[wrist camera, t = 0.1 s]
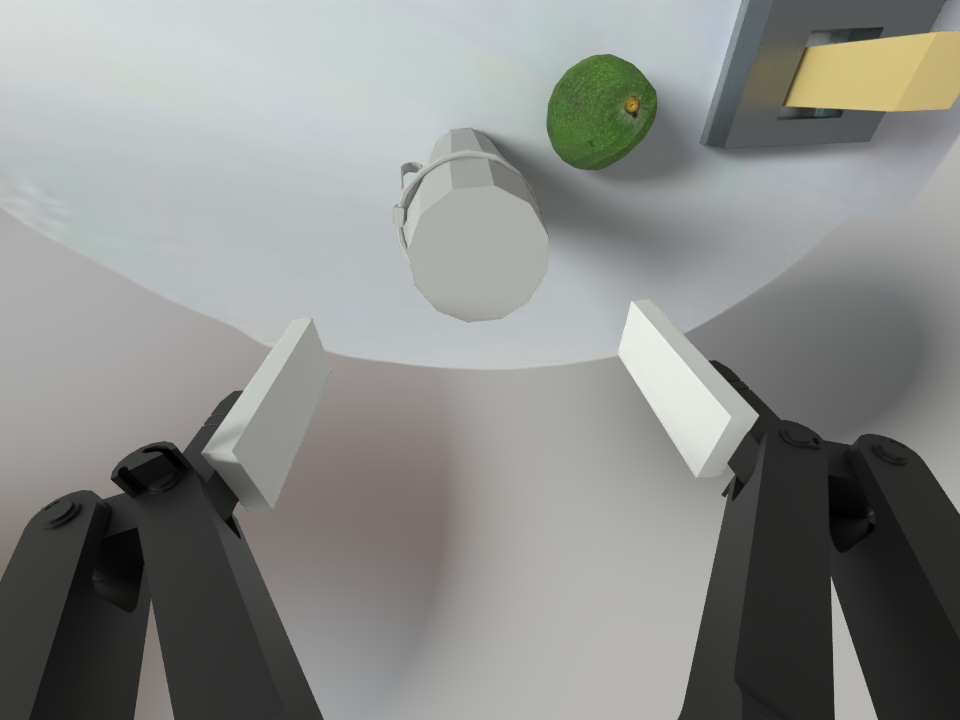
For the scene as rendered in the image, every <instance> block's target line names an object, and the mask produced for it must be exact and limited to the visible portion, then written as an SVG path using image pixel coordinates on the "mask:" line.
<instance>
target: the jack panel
mask: <svg viewBox="0 0 960 720" xmlns="http://www.w3.org/2000/svg"><path fill="white" fill-rule="evenodd" d="M945 1H946V0H742V3H741V6H740V10H739V13H738V17H737V20H736V23H735V27H734V30H733V34H732V37H731V40H730V44H729V47H728V50H727V54H726V57H725V61H724V64H723V67H722V71H721V74H720V78H719V81H718V84H717V88H716V91H715V95H714V98H713V101H712V105H711V108H710V112H709V115H708V118H707V122H706V125H705V129H704V132H703V135H702V139H701V142H700V143H701V144H706V145H711V146H715V147H720V148H744V147H764V146H785V145H805V144H826V143H846V142H867V141H870V139H871V138H872V136H873V134H874V132H875V130H876V128H877V126H878V125H879V123H880V121H881V119H882V117H883V115H884V114H885V112H886V111H873V110H853V109H833V108H813V107H794V106H782V105H783V102H784V99H785V97H786V94H787V92H788V89H789V87H790V84H791V82H792V79H793V77H794V74H795V71H796V69H797V66H798V64H799V61H800V59H801V56H802V54H803V51H804V49H805V47H814V46H822V45H831V44H839V43H848V42H856V41H865V40H873V39H882V38H890V37H899V36H907V35H916V34H924V33H928V32H929V30H930V29H931V27H932V25H933V23H934V21H935V19H936V17H937V16H938V14H939V12H940V10H941V8H942V6H943V5H944V3H945Z"/></svg>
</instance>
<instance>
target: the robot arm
mask: <svg viewBox="0 0 960 720" xmlns="http://www.w3.org/2000/svg"><path fill="white" fill-rule="evenodd" d="M618 355H619V356H620V358H621V360H622V361H623V363H624V364H625V366H626V367H627V369H628V370H629V372H630V374H631V375H632V377H633V378H634V380H635V382H636V383H637V385H638V386H639V388H640V390H641V391H642V393H643V394H644V396H645V398H646V399H647V401H648V402H649V404H650V405H651V407H652V409H653V410H654V412H655V413H656V415H657V417H658V418H659V419H660V421H661V423H662V424H663V426H664V428H665V429H666V431H667V432H668V434H669V435H670V437H671V438H672V440H673V442H674V443H675V445H676V447H677V448H678V450H679V451H680V453H681V455H682V456H683V458H684V459H685V461H686V463H687V464H688V466H689V467H690V469H691V470H692V472H693V474H694V475H695V477H696V478H704V477H718V476H721V474H722V472H723V471H724V469H725V468H726V466H727V465H729V466H730V468H731V469H732V470H733V472H734V473H735V476H734V477H733V478H732V480H731V482H730V483H729V484H728V486H727V487H726V489H725V490H724V492H723V493H722V496H724V497H726V495H727V494H728V497H727V502H726V507H725V511H724V516H723V521H722V526H721V530H720V535H719V540H718V545H717V549H716V554H715V559H714V563H713V568H712V573H711V577H710V582H709V587H708V591H707V596H706V601H705V606H704V611H703V615H702V620H701V624H700V629H699V634H698V639H697V643H696V648H695V653H694V657H693V662H692V667H691V672H690V676H689V681H688V686H687V690H686V695H685V700H684V704H683V708H682V711H681V713H680V716H679V718H678V720H835V714H834V678H833V642H832V607H831V577H832V580H833V583H834V586H835V589H836V592H837V596H838V599H839V602H840V605H841V608H842V611H843V614H844V617H845V620H846V623H847V626H848V629H849V632H850V635H851V638H852V641H853V644H854V648H855V650H856V654H857V657H858V660H859V663H860V666H861V669H862V672H863V675H864V678H865V681H866V684H867V687H868V690H869V693H870V696H871V699H872V702H873V706H874V709H875V712H876V715H877V718H878V720H960V514H959V513H958V512H957V510H956V508H955V507H954V505H953V504H952V502H951V501H950V499H949V498H948V496H947V495H946V493H945V492H944V490H943V489H942V487H941V486H940V484H939V483H938V481H937V480H936V478H935V477H934V475H933V474H932V473H931V471H930V470H929V468H928V466H926V464H925V462H924V461H923V460H922V459H921V457H920V456H919V455H918V454H917V453H916V452H914V451H913V450H911V449H910V448H908V447H907V446H906V445H904V444H902V443H900V442H897V441H896V440H893V439H891V438H887V437H884V436H881V435H875V434H865V435H861V436H860V437H859V438H858V439H857V440H856V441H855V442H854V443H853V444H852V445H848V444H841V443H836V442H830V441H824V440H822V438H821V437H820V436H819V435H818V434H817V433H815V432H814V431H812V430H810V429H809V428H808V427H805V426H803V425H801V424H799V423H795V422H792V421H788V420H781V419H780V418H779V417H778V416H776V414H774V412H772V410H771V409H770V408H769V407H768V406H767V405H766V404H765V403H764V402H763V401H762V400H761V399H759V397H758V396H757V395H756V394H754V392H753V391H752V390H749V387H748V386H747V385H746V384H744V382H742V381H740V378H739V377H737V375H736V374H735V373H734V372H732V370H731V369H729V368H728V367H726V366H724V365H722V364H720V363H719V362H717V361H716V360H714V361H707V360H706V359H705V357H704V356H702V354H701V353H700V352H699V351H698V350H697V349H696V348H695V347H694V346H693V345H692V344H691V343H690V342H689V341H688V339H687V338H686V337H685V336H684V335H683V334H682V333H681V332H680V331H679V330H678V329H677V328H676V327H675V326H674V325H673V324H672V323H671V321H670V320H669V319H668V318H667V317H666V316H665V315H664V314H663V313H662V312H661V311H660V310H659V309H658V308H657V307H656V306H655V305H654V303H653V302H652V301H651V300H633V301H632V302H631V305H630V309H629V313H628V317H627V321H626V325H625V328H624V332H623V336H622V340H621V344H620V348H619V352H618ZM330 373H331V369H330V366H329V363H328V360H327V358H326V355H325V352H324V349H323V347H322V344H321V341H320V338H319V336H318V333H317V330H316V327H315V325H314V322H313V319H312V318H307V319H293V320H292V321H291V323H290V324H289V326H288V327H287V329H286V330H285V332H284V333H283V334H282V336H281V337H280V339H279V340H278V342H277V343H276V345H275V346H274V348H273V349H272V351H271V352H270V353H269V355H268V357H267V358H266V359H265V361H264V362H263V364H262V365H261V367H260V368H259V369H258V371H257V372H256V374H255V375H254V377H253V378H252V380H251V381H250V383H249V384H248V385H247V387H246V388H245V390H243V391H234V392H232V393H231V394H230V395H229V396H227V397H226V398H225V399H224V400H222V401H221V402H220V403H219V405H218V406H217V407H216V409H215V410H214V411H213V413H212V414H211V415H212V416H211V417H209V418H208V419H207V421H206V422H205V423H204V427H201V429H200V430H199V432H198V433H197V434H196V436H195V437H194V438H193V440H192V441H191V443H190V444H189V445H188V447H187V448H186V449H185V451H184V452H183V453H181V452H180V451H179V449H178V448H177V447H176V446H175V445H174V444H173V443H170V442H165V441H164V442H157V443H152V444H149V445H147V446H144V447H141V448H139V449H138V450H136V451H134V452H132V453H131V454H129V455H128V456H126V457H125V458H124V459H123V460H122V461H120V462H119V463H118V465H117V466H116V467H115V469H114V470H113V471H112V475H111V480H112V481H113V482H114V483H115V484H117V485H118V486H119V487H120V488H121V489H122V490H123V491H125V493H122V494H119V495H116V496H113V497H109V498H106V499H101V498H100V497H99V496H98V495H97V494H95V493H94V492H92V491H87V490H81V491H78V492H74V493H70V494H67V495H65V496H63V497H61V498H59V499H57V500H55V501H53V502H52V503H50V504H48V505H47V506H46V507H44V508H43V509H41V510H40V512H38V513H37V514H36V515H35V516H34V517H33V518H32V519H31V520H30V522H29V523H28V524H27V526H26V527H25V529H24V531H23V533H22V535H21V538H20V540H19V542H18V544H17V546H16V549H15V551H14V553H13V555H12V558H11V559H10V562H9V564H8V566H7V568H6V570H5V573H4V575H3V577H2V579H1V581H0V720H134V714H135V707H136V700H137V692H138V686H139V679H140V672H141V665H142V658H143V651H144V644H145V637H146V630H147V623H148V616H149V609H150V602H151V599H152V604H153V609H154V614H155V620H156V625H157V630H158V635H159V641H160V646H161V651H162V657H163V662H164V667H165V672H166V678H167V683H168V688H169V693H170V698H171V704H172V709H173V714H174V720H324V719H323V717H322V715H321V712H320V710H319V708H318V706H317V703H316V701H315V698H314V696H313V694H312V691H311V689H310V687H309V684H308V682H307V680H306V678H305V675H304V673H303V671H302V668H301V666H300V664H299V661H298V659H297V657H296V654H295V652H294V650H293V648H292V645H291V643H290V641H289V638H288V636H287V634H286V631H285V629H284V627H283V624H282V622H281V620H280V617H279V615H278V613H277V610H276V608H275V606H274V604H273V601H272V599H271V597H270V594H269V592H268V590H267V587H266V585H265V583H264V580H263V578H262V576H261V573H260V571H259V569H258V567H257V564H256V562H255V560H254V557H253V555H252V553H251V550H250V548H249V546H248V543H247V541H246V539H245V536H244V534H243V532H242V530H241V527H240V525H239V523H238V520H237V518H236V517H235V516H234V515H233V513H232V512H233V510H234V508H235V506H236V504H237V502H238V501H239V502H240V503H241V505H242V506H243V507H244V508H245V509H246V511H257V510H269V509H270V510H271V509H273V507H274V505H275V503H276V500H277V498H278V496H279V493H280V491H281V489H282V486H283V484H284V481H285V479H286V477H287V475H288V472H289V469H290V467H291V465H292V463H293V460H294V458H295V456H296V453H297V451H298V448H299V446H300V444H301V441H302V439H303V437H304V434H305V432H306V430H307V427H308V425H309V423H310V420H311V418H312V416H313V413H314V411H315V409H316V406H317V404H318V401H319V399H320V397H321V394H322V392H323V390H324V387H325V385H326V382H327V380H328V378H329V376H330ZM874 515H875V516H874Z"/></svg>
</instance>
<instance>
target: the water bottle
mask: <svg viewBox="0 0 960 720" xmlns="http://www.w3.org/2000/svg"><path fill="white" fill-rule="evenodd" d="M408 172H415V173H416V174H415V176H414V177H413V178H412V179H411V180H410V181H409V182H408V183H407V185H406V186H405V187H404V188H403V176H404V175H405V174H406V173H408ZM424 176H425V178H424V181H423V184H421V182H422V180H423V177H424ZM420 184H421V185H420ZM418 188H419V189H418ZM417 190H418V192H417ZM416 192H417V195H416V198H415V201H414V204H413V207H412V210H411V212H410V215H409V218H408V246H407V243H406V241H405V237H404V232H403V226H404V224H405V222H406V220H407V210H408V208H409V206H410V204H411V202H412V200H413V198H414V196H415V194H416ZM393 225H394V226H397V236H398V241H399V243H400V245H401V247H402V249H403V251H404V253H405V255H406V257H407V259H408V261H409V262H410V265H411V270H412V275H413V279H414V284H415V286H416V288H417V289H418V290H419V291H420V292H421V293H422V294H423V295H424V297H425V298H426V299H427V300H428V301H429V302H430V303H431V304H432V305H433V307H434V308H435V309H436V310H437V311H439V312H442V313H444V314H447V315H450V316H453V317H455V318H458V319H461V320H463V321H466V322H476V321H486V320H496V319H502V318H503V317H505V316H506V315H508V314H510V313H511V312H513V311H515V310H516V309H518V308H519V307H521V306H523V305H524V304H526V303H528V302H529V301H530V299H531V298H532V296H533V295H534V293H535V291H536V290H537V288H538V286H539V285H540V283H541V281H542V280H543V278H544V277H545V275H546V273H547V263H548V237H549V236H548V233H547V231H546V228H545V225H544V222H543V219H542V216H541V213H540V210H539V206H538V203H537V200H536V196H535V192H534V191H533V189H532V188H531V187H530V185H529V183H528V182H527V181H526V179H525V178H524V177H523V175H522V174H521V173H520V171H519V170H517V169H516V168H515V167H513V166H512V165H511V164H509V163H508V162H507V161H506V160H505V159H504V157H503V156H502V155H501V154H500V152H499V151H498V150H497V148H496V147H495V146H494V144H493V143H492V142H491V140H490V139H489V138H488V137H486V136H485V135H483V134H481V133H479V132H477V131H476V130H474V129H472V128H463V129H453V130H450V131H449V132H448V133H447V134H446V135H444V136H443V137H442V138H441V139H440V140H439V141H437V142H436V144H435V147H434V150H433V152H432V155H431V158H430V161H429V164H427V165H426V166H424V167H423V166H422V165H421V164H419V163H418V162H409V163H406V164H404V165H403V166H401V196H400V200H399V203H398V204H397V205H396V206H394V208H393Z"/></svg>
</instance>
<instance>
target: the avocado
mask: <svg viewBox="0 0 960 720" xmlns="http://www.w3.org/2000/svg"><path fill="white" fill-rule="evenodd" d="M656 110H657V97H656V91H655V89H654V88H653V87H652V85H651V84H650V83H649V81H648V80H647V79H646V77H645V76H644V75H643V74H642V73H641V71H640V70H639V69H638V68H636V67H635V66H634V65H633V64H631V63H629V62H627V61H625V60H623V59H621V58H618V57H616V56H613V55H611V54H606V55H594V56H591V57H589V58H587V59H584V60H582V61H581V62H579V63H578V64H576V65H575V66H573V67H572V68H570V69H569V70H568V71H567V72H566V73H565V74H564V76H563V77H562V78H561V79H560V81H559V82H558V83H557V84H556V86H555V88H554V91H553V93H552V96H551V98H550V101H549V103H548V113H547V131H548V135H549V138H550V140H551V143H552V146H553V148H554V150H555V151H556V152H557V154H558V155H559V156H560V157H561V159H562V160H563V161H565V162H566V163H568V164H570V165H571V166H573V167H574V168H578V169H585V170H599V169H602V168H605V167H607V166H609V165H611V164H612V163H614V162H616V161H617V160H619V159H621V158H622V157H624V156H626V155H627V154H628V153H629V152H630V151H631V150H632V149H633V148H634V147H635V146H636V145H637V144H638V143H639V142H640V141H641V140H642V139H644V137H645V135H646V134H647V132H648V130H649V128H650V127H651V125H652V123H653V121H654V119H655V114H656Z"/></svg>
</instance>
